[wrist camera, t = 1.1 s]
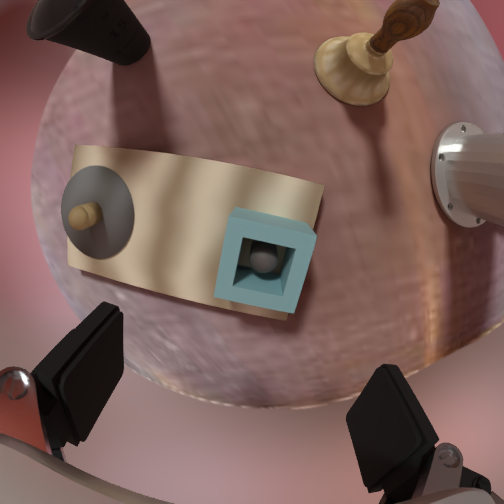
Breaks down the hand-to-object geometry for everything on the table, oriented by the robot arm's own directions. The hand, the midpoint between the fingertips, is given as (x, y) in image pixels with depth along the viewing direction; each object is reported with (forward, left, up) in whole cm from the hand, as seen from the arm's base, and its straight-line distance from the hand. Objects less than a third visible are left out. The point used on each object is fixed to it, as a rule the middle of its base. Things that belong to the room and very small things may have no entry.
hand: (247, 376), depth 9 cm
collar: (-1, 0, -17) cm, 17 cm away
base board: (+8, 0, -19) cm, 21 cm away
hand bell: (-6, -20, -20) cm, 28 cm away
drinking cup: (+18, -19, -20) cm, 33 cm away
